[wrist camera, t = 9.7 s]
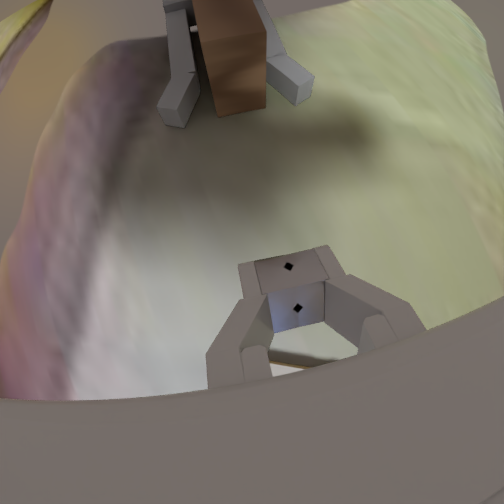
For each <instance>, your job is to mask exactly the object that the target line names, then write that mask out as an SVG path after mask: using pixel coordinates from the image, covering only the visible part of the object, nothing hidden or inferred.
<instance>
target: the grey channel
mask: <svg viewBox="0 0 504 504" xmlns="http://www.w3.org/2000/svg"><path fill="white" fill-rule="evenodd" d="M253 2H254V4H255V6H256V9H257V11H258V13H259V15H260V17H261V20H262V22H263V24H264V26H265V29H266V31H267V51H266V82H268V83H269V84H270V85H271V86H273V87H274V88H275V89H276V90H277V91H278V92H280V93H281V94H282V95H283V96H284V97H285V98H287V99H288V100H289V101H290V102H291V103H292V104H294V105H295V106H296V105H298V104H299V103H301V102H302V101H304V100H306V99H307V98H309V97H310V95H311V91H312V87H313V82H314V78H315V76H313V75H312V74H311V73H310V72H308V71H307V70H306V69H305V68H303V67H302V66H301V65H299V64H298V63H297V62H296V61H294V60H293V59H292V58H290V57H289V56H287V53H286V51H285V49H284V46H283V44H282V42H281V40H280V37H279V35H278V33H277V31H276V29H275V26H274V24H273V22H272V20H271V18H270V16H269V14H268V12H267V10H266V8H265V6H264V4H263V2H262V0H253ZM163 7H164V10H165V13H166V26H167V38H168V49H169V60H170V70H171V79H170V81H169V83H168V85H167V87H166V89H165V90H164V92H163V94H162V96H161V98H160V100H159V102H158V104H157V106H156V108H157V110H158V112H159V114H160V116H161V118H162V119H163V121H164V123H165V125H169V126H175V127H181V128H185V126H186V124H187V121H188V119H189V117H190V114H191V112H192V110H193V108H194V106H195V103H196V101H197V99H198V97H199V95H200V91H201V88H200V83H199V77H198V72H197V66H196V60H195V55H194V49H193V43H192V37H191V32H190V27H191V26H194V25H197V23H196V18H195V13H194V8H193V3H192V0H163Z"/></svg>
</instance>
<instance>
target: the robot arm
mask: <svg viewBox="0 0 504 504" xmlns="http://www.w3.org/2000/svg"><path fill="white" fill-rule="evenodd" d="M238 270H239V276H240V281H241V286H242V292H243V297H244V299H240V300H239V301H238V303H237V304H236V306H235V308H234V309H233V311H232V312H231V314H230V316H229V317H228V319H227V321H226V322H225V324H224V325H223V327H222V329H221V330H220V332H219V334H218V335H217V337H216V338H215V340H214V342H213V343H212V345H211V346H210V348H209V350H208V351H207V353H206V365H207V380H208V389H205V390H199V391H192V392H184V393H176V394H168V395H159V396H149V397H138V398H124V399H108V400H79V401H48V400H20V399H5V398H0V504H504V296H503V297H501V298H499V299H497V300H495V301H493V302H491V303H488V304H486V305H484V306H482V307H480V308H478V309H476V310H474V311H471V312H469V313H467V314H465V315H462V316H460V317H458V318H456V319H453V320H451V321H449V322H446V323H444V324H441V325H439V326H436V327H434V328H431V329H429V330H426V328H425V327H424V325H423V324H422V322H421V320H420V319H419V317H418V316H417V314H416V313H415V311H414V310H413V308H412V306H411V305H410V303H408V302H406V301H404V300H402V299H400V298H398V297H396V296H394V295H392V294H390V293H388V292H386V291H384V290H382V289H380V288H378V287H376V286H374V285H372V284H370V283H367V282H365V281H363V280H361V279H359V278H357V277H355V276H353V275H351V274H349V275H346V274H345V272H344V270H343V269H342V267H341V265H340V264H339V262H338V260H337V259H336V257H335V255H334V254H333V252H332V250H331V249H330V247H329V246H328V245H323V246H319V247H315V248H312V249H309V250H304V251H300V252H295V253H291V254H286V255H281V256H276V257H271V258H265V259H260V260H255V261H254V262H253V261H251V262H246V263H241V264H238ZM323 321H324V322H325V323H326V324H327V325H329V326H330V327H331V328H332V329H334V330H335V331H336V332H338V333H339V334H340V335H342V336H343V337H344V338H346V339H347V340H348V341H350V342H351V343H352V344H354V345H355V346H356V347H358V353H357V355H355V356H351V357H348V358H345V359H341V360H338V361H334V362H331V363H327V364H323V365H320V366H316V367H312V368H308V369H304V370H300V371H296V372H292V373H288V374H284V375H279V376H275V377H273V375H272V371H271V367H270V363H269V359H268V354H267V352H268V350H269V347H270V345H271V342H272V340H273V337H274V333H278V332H282V331H286V330H289V329H293V328H297V327H301V326H306V325H310V324H315V323H319V322H323Z"/></svg>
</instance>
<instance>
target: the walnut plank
mask: <svg viewBox="0 0 504 504" xmlns="http://www.w3.org/2000/svg"><path fill="white" fill-rule="evenodd" d="M192 3H193V8H194V13H195V18H196V23H197V27H198V33H199V38H200V43H201V47H202V51H203V56H204V60H205V64H206V69H207V73H208V77H209V82H210V86H211V90H212V94H213V99H214V103H215V107H216V112H217V116H218V117H222V116H227V115H232V114H237V113H242V112H247V111H252V110H258V109H264V108H266V51H267V31H266V29H265V26H264V24H263V22H262V20H261V17H260V15H259V13H258V11H257V9H256V6H255V4H254V2H253V0H192Z"/></svg>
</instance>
